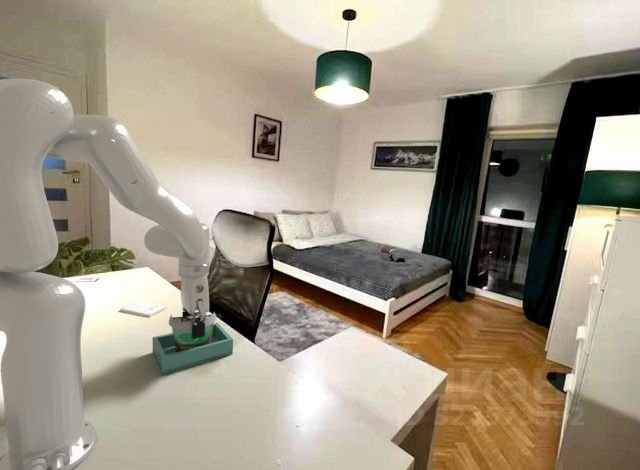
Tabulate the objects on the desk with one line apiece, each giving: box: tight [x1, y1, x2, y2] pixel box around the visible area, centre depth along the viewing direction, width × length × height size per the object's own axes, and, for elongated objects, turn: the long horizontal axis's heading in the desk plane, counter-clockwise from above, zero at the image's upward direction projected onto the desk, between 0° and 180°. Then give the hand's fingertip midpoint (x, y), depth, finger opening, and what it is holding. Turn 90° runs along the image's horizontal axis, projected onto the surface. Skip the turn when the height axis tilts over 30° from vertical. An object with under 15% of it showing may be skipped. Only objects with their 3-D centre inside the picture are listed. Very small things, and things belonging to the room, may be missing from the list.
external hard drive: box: [119, 300, 168, 318], centre depth 109 cm, size 2×8×12 cm
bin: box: [152, 322, 234, 376], centre depth 84 cm, size 12×18×4 cm, turn 129°
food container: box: [168, 311, 217, 352], centre depth 82 cm, size 12×6×10 cm, turn 108°
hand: (193, 330), depth 83 cm, fingers open, 8 cm apart
